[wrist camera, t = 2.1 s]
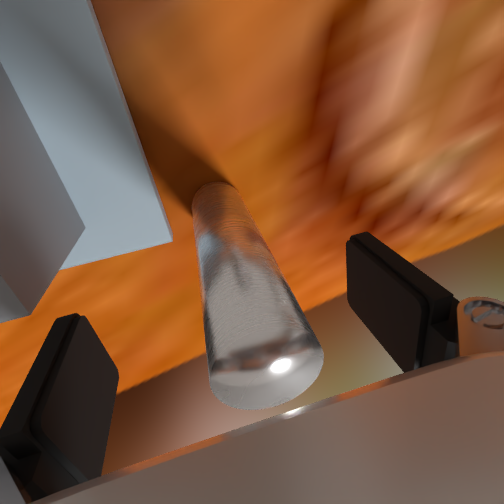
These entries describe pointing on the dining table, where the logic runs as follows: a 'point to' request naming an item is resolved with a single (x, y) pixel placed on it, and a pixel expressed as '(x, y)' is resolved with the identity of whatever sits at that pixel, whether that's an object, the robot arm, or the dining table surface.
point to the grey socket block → (65, 153)
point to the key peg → (248, 308)
